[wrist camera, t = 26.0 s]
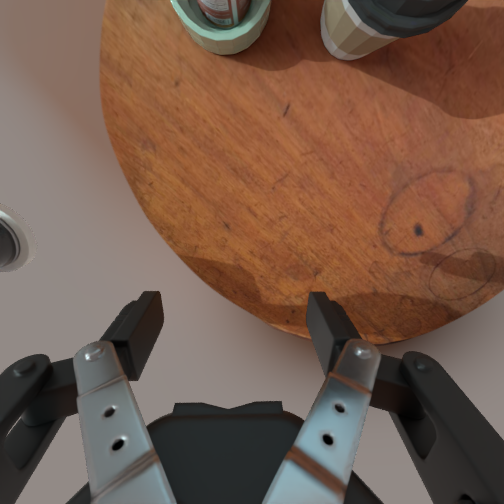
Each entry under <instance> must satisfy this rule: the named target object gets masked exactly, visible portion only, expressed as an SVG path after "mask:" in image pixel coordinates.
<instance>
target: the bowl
mask: <svg viewBox="0 0 504 504" xmlns="http://www.w3.org/2000/svg"><path fill="white" fill-rule="evenodd" d="M171 3H172V6H173V8H174V9H175V11H176V13H177V15H178V17H179V19H180V21H181V23H182V25H183V26H184V28H185V29H186V31H187V32H188V33H189V35H190V36H191V38H192V39H193V40H194V41H195V42H196V43H198V44H199V45H200V46H202V47H203V48H204V49H205V50H207V51H210V52H213V53H216V54H219V55H220V54H221V55H226V54H236V53H238V52H240V51H242V50H244V49H246V48H248V47H249V46H250V45H251V44H252V43H253V42H254V41H255V40H256V39H257V38H258V37H259V36H260V34H261V32H262V30H263V29H264V27H265V25H266V23H267V21H268V17H269V13H270V9H271V4H272V0H252V1H251V5H250V8H249V11H248V13H247V15H246V16H245V18H244V19H243V20H242V21H241V22H240V23H239V24H238V25H237V26H235V27H232V28H229V29H223V28H219V27H216V26H214V25H213V24H211V23H210V22H209V21H208V20H207V19H206V18H205V16H204V15H203V13H202V12H201V10H200V8H199V5H198V3H197V0H171Z"/></svg>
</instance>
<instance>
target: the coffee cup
mask: <svg viewBox="0 0 504 504" xmlns="http://www.w3.org/2000/svg"><path fill="white" fill-rule="evenodd" d="M467 1H468V0H325V1H324V4H323V9H322V14H321V20H320V23H321V37H322V40H323V42H324V45H325V47H326V49H327V50H328V51H329V52H330V54H331V55H333V56H334V57H336V58H338V59H342V60H354V59H358V58H361V57H363V56H365V55H367V54H369V53H371V52H373V51H375V50H377V49H379V48H381V47H383V46H385V45H387V44H389V43H391V42H393V41H395V40H397V39H399V38H406V37H411V36H415V35H419V34H423V33H427V32H429V31H430V30H432V29H434V28H435V27H437V26H439V25H440V24H442V23H443V22H445V21H447V20H448V19H450V18H451V17H452V16H453V15H454V14H455V13H456V12H457V11H458V10H459V9H460V8H461V7H462V6H463V5H464V4H465V3H466V2H467Z"/></svg>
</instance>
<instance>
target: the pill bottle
mask: <svg viewBox="0 0 504 504" xmlns="http://www.w3.org/2000/svg"><path fill="white" fill-rule="evenodd" d="M251 1H252V0H197V3H198V5H199V8H200V10H201V12H202V13H203V15H204V16H205V18H206V19H207V20H208V21H209V22H210V23H211V24H213V25H214V26H216V27H219V28H223V29H229V28H232V27H235V26H237V25H238V24H239V23H240V22H241V21H242V20H243V19H244V18H245V16H246V15H247V13H248V11H249V8H250V5H251Z"/></svg>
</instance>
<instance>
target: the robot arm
mask: <svg viewBox="0 0 504 504" xmlns="http://www.w3.org/2000/svg"><path fill="white" fill-rule="evenodd" d="M19 254H20V242H19V239H18V237H17V235H16V233H15V232H14V230H13V229H12V228H11V227H10V226H9V225H8V224H7V223H6V222H5V221H3V220H2V219H1V218H0V268H1V267H4V266H7V265H9V264H11V263H13V262H14V261H16V260H17V258H18V257H19ZM163 323H164V313H163V307H162V300H161V294H160V292H159V291H144V292H143V293H142V294H141V296H140V297H139V299H138V300H137V301H132V302H130V303H129V304H128V305H126V306H125V307H124V308H123V309H122V310H121V312H120V313H119V315H118V316H117V317H116V319H115V321H113V322H112V324H111V325H110V327H109V328H108V329H107V330H106V332H105V333H104V335H103V336H102V337H101V339H100V340H99V341H96V342H93V343H90V344H88V345H86V346H84V347H83V348H81V349H80V350H79V351H78V352H77V353H76V354H75V356H74V358H69V359H66V360H61V361H57V362H53V363H51V362H50V359H49V357H48V356H46V355H44V354H36V355H31V356H28V357H25V358H23V359H20V360H18V361H17V362H15V363H14V364H12V365H10V366H9V367H8V368H7V369H6V370H4V372H3V373H2V374H1V375H0V504H15V502H16V500H17V499H18V497H19V495H20V494H21V492H22V490H23V489H24V487H25V485H26V484H27V482H28V480H29V479H30V477H31V475H32V474H33V472H34V470H35V469H36V467H37V465H38V464H39V462H40V460H41V459H42V457H43V455H44V453H45V452H46V450H47V449H48V447H49V445H50V443H51V442H52V440H53V438H54V437H55V435H56V433H57V432H58V430H59V428H60V427H61V425H62V423H63V422H64V420H65V418H66V417H67V416H70V415H74V414H76V413H78V414H79V420H80V426H81V433H82V439H83V445H84V452H85V459H86V466H87V472H88V479H89V481H88V482H87V484H86V485H84V486H83V487H82V488H81V489H80V490H79V491H78V492H77V493H76V494H75V495H74V496H73V497H72V498H71V499H70V500H69V501H68V502H67V503H66V504H384V503H383V502H382V501H381V500H380V499H379V498H378V497H377V496H376V495H375V494H374V493H373V491H372V490H371V489H370V488H369V487H368V486H367V485H366V484H365V483H364V482H363V481H362V480H361V479H360V478H359V476H358V475H357V474H356V473H355V472H354V471H353V470H352V467H353V463H354V459H355V455H356V452H357V448H358V444H359V441H360V437H361V433H362V429H363V426H364V422H365V418H366V414H367V411H368V407H369V406H372V407H375V408H379V409H382V410H386V411H388V412H389V414H390V416H391V418H392V420H393V422H394V424H395V426H396V428H397V430H398V432H399V434H400V436H401V438H402V440H403V442H404V444H405V446H406V448H407V450H408V453H409V455H410V457H411V459H412V461H413V463H414V465H415V467H416V469H417V471H418V473H419V475H420V477H421V479H422V481H423V483H424V485H425V487H426V489H427V491H428V493H429V495H430V497H431V499H432V501H433V504H504V440H503V439H502V438H501V437H500V436H499V434H498V433H497V432H496V431H495V430H494V428H493V427H492V426H491V425H490V424H489V422H488V421H487V420H486V419H485V417H484V416H483V415H482V414H481V413H480V412H479V410H478V409H477V408H476V407H475V406H474V404H473V403H472V402H471V401H470V400H469V398H468V397H467V396H466V395H465V394H464V392H463V391H462V390H461V389H460V388H459V387H458V385H457V384H456V383H455V382H454V380H453V379H452V378H451V377H450V376H449V375H448V373H447V372H446V371H445V370H444V369H443V367H442V366H441V365H440V364H439V363H438V362H437V361H436V360H434V359H433V358H431V357H430V356H428V355H425V354H423V353H420V352H415V351H409V352H406V353H405V354H404V355H403V358H402V359H398V358H394V357H390V356H386V355H382V354H380V352H379V350H378V349H377V348H376V347H375V346H374V345H373V344H371V343H370V342H368V341H365V340H363V339H362V338H361V336H360V335H359V333H358V331H357V330H356V328H355V327H354V325H353V323H352V322H351V320H350V319H349V317H348V315H346V312H345V310H344V309H343V307H342V306H341V305H339V304H338V303H337V302H336V301H330V300H329V298H328V297H327V295H326V293H325V292H310V293H309V298H308V306H307V313H306V323H307V327H308V330H309V333H310V336H311V338H312V341H313V344H314V347H315V350H316V352H317V355H318V358H319V361H320V363H321V366H322V369H323V372H324V375H325V377H326V379H325V381H324V383H323V385H322V387H321V389H320V391H319V393H318V396H317V397H316V399H315V401H314V403H313V405H312V407H311V410H310V412H309V414H308V416H307V418H306V420H305V421H304V420H303V419H302V418H300V417H298V416H296V415H294V414H292V413H290V412H287V411H283V407H282V401H264V402H262V401H261V402H252V403H249V404H245V405H242V406H238V407H235V408H231V409H225V408H221V407H217V406H213V405H209V404H205V403H175V405H174V409H173V413H170V414H167V415H164V416H162V417H160V418H158V419H156V420H154V421H153V422H152V423H150V424H149V425H147V426H146V425H145V423H144V420H143V418H142V415H141V413H140V410H139V407H138V405H137V402H136V400H135V397H134V394H133V392H132V389H131V386H130V384H129V381H138V380H139V378H140V375H141V373H142V371H143V369H144V367H145V364H146V362H147V360H148V358H149V356H150V353H151V351H152V349H153V347H154V344H155V342H156V340H157V338H158V336H159V333H160V331H161V329H162V326H163ZM20 416H21V419H20V420H19V421H18V422H17V424H16V425H15V426H14V427H13V429H12V430H11V431H10V433H9V434H8V432H9V430H10V429H11V428H12V426H13V425H14V424H15V423H16V421H17V420H18V419H19V417H20ZM7 434H8V435H7ZM6 436H7V437H6Z"/></svg>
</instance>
